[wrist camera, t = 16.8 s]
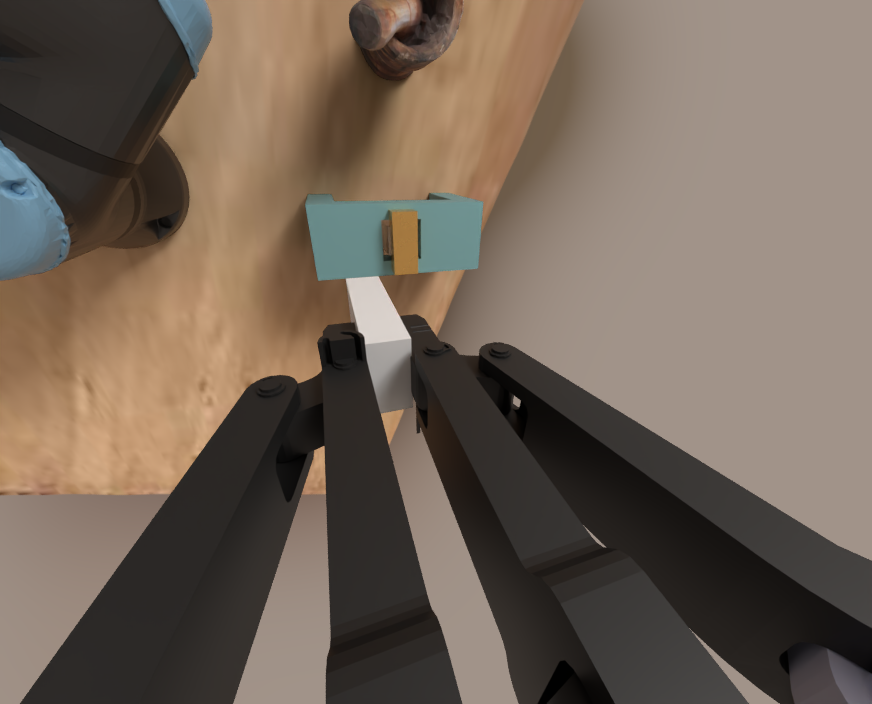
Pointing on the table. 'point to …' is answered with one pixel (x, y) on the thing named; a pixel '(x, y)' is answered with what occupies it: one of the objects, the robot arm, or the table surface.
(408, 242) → the golden orange block
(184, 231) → the table surface
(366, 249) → the teal slotted arch
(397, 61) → the mortar and pestle
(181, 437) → the table surface
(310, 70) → the table surface
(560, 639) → the robot arm
